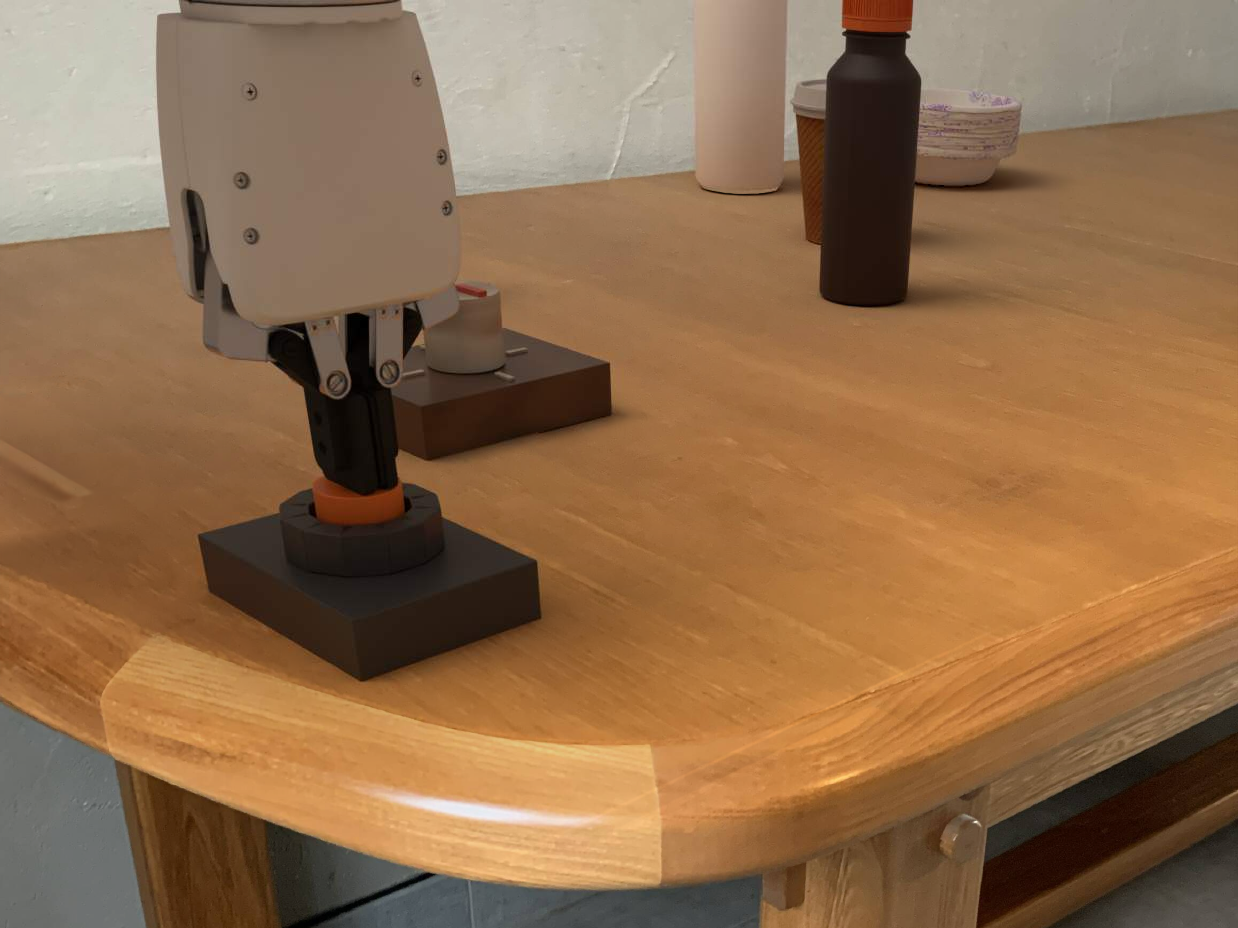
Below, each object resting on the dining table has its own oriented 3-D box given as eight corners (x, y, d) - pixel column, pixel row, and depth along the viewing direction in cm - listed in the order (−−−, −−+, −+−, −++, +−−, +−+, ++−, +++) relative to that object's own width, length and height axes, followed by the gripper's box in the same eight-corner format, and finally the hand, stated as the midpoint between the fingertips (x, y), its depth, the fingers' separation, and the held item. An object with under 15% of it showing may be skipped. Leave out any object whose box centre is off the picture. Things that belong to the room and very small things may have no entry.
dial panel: (427, 462, 81) (420, 403, 79) (325, 418, 87) (317, 362, 85) (612, 414, 89) (610, 359, 87) (508, 376, 95) (504, 324, 93)
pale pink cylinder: (777, 179, 155) (784, -176, 138) (788, 196, 148) (797, -177, 131) (692, 178, 154) (689, -180, 137) (698, 195, 147) (696, -182, 130)
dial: (410, 361, 86) (402, 282, 84) (473, 348, 89) (466, 271, 86) (457, 378, 84) (450, 297, 81) (520, 364, 86) (515, 285, 84)
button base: (361, 683, 60) (345, 576, 57) (208, 592, 66) (188, 493, 64) (542, 619, 65) (535, 519, 63) (384, 541, 72) (372, 447, 69)
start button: (349, 545, 62) (343, 504, 61) (301, 521, 64) (294, 481, 63) (423, 524, 64) (418, 484, 63) (375, 501, 66) (369, 462, 65)
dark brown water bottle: (861, 281, 119) (875, -12, 108) (925, 298, 115) (947, -5, 104) (800, 293, 115) (808, -10, 104) (864, 311, 111) (881, -2, 100)
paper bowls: (1041, 180, 160) (1050, 96, 156) (962, 198, 150) (970, 109, 146) (922, 161, 168) (928, 81, 163) (840, 177, 158) (844, 92, 153)
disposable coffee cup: (781, 247, 129) (784, 89, 122) (793, 225, 136) (797, 75, 130) (892, 253, 128) (902, 95, 121) (898, 231, 136) (908, 81, 129)
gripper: (407, -43, 59) (456, 425, 69) (24, -35, 50) (145, 502, 60) (526, -31, 55) (560, 465, 65) (131, -19, 46) (242, 555, 56)
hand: (360, 482), depth 63 cm, fingers closed
